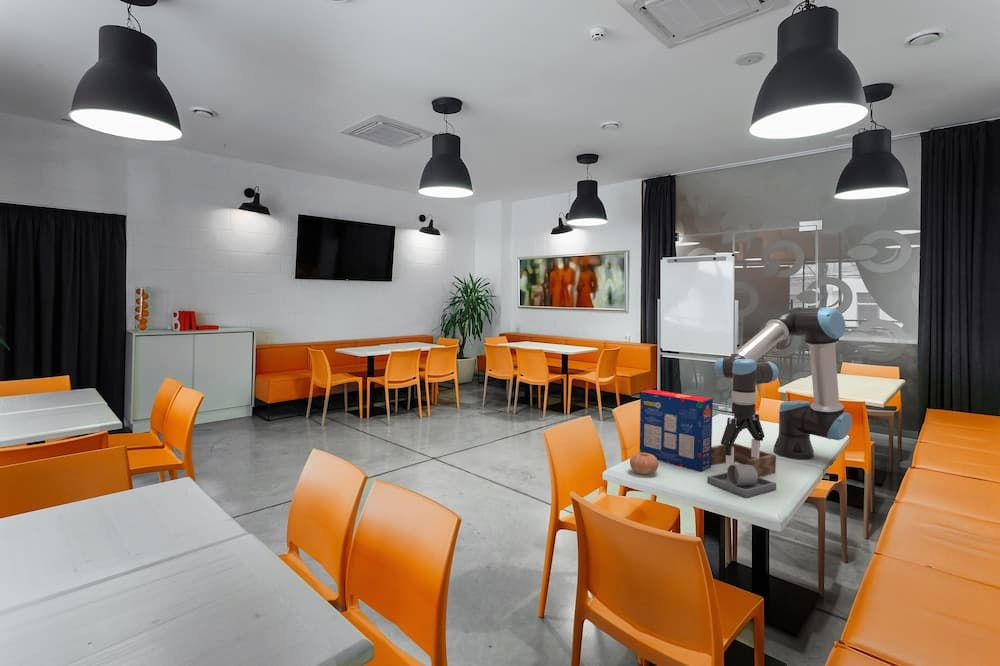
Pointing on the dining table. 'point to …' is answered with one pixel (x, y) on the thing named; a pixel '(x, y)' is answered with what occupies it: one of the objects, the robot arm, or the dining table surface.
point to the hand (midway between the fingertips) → (742, 460)
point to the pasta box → (676, 428)
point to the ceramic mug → (742, 475)
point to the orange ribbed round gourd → (644, 463)
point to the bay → (746, 458)
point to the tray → (742, 491)
